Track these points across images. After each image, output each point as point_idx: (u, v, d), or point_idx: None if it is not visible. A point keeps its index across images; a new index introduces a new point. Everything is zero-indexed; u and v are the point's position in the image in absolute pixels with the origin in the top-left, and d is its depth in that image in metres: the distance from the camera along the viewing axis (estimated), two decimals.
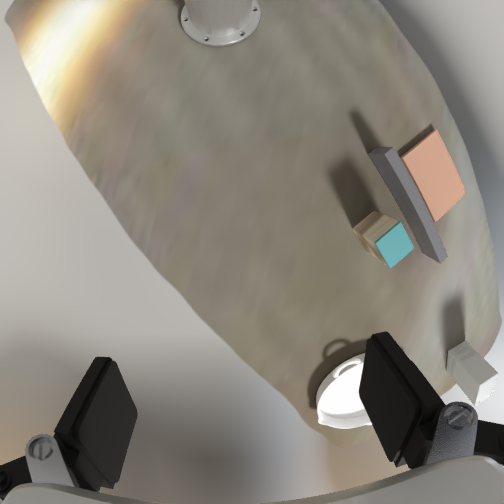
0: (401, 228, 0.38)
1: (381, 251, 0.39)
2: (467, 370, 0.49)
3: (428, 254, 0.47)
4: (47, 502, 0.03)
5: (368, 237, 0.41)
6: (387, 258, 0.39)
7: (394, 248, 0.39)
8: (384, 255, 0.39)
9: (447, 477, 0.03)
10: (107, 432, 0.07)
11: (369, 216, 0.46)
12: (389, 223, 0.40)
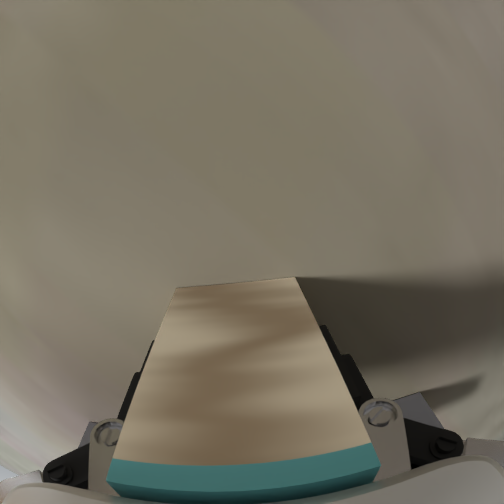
0: None
1: (287, 488, 0.04)
2: None
3: None
4: (47, 502, 0.03)
5: None
6: (200, 499, 0.04)
7: None
8: (240, 496, 0.04)
9: (447, 477, 0.03)
10: None
11: None
12: None
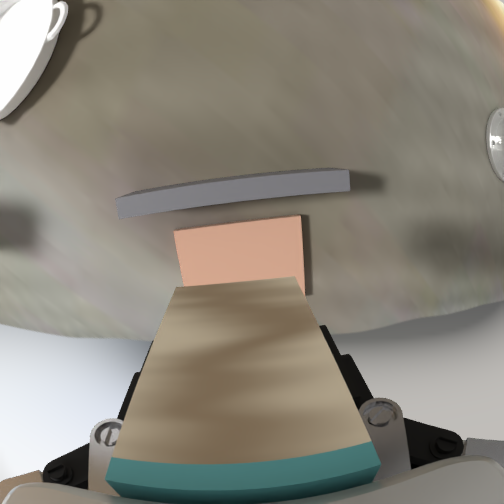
0: None
1: (287, 487, 0.04)
2: None
3: None
4: (47, 502, 0.03)
5: None
6: (199, 498, 0.04)
7: None
8: (239, 495, 0.04)
9: (447, 477, 0.03)
10: None
11: None
12: None
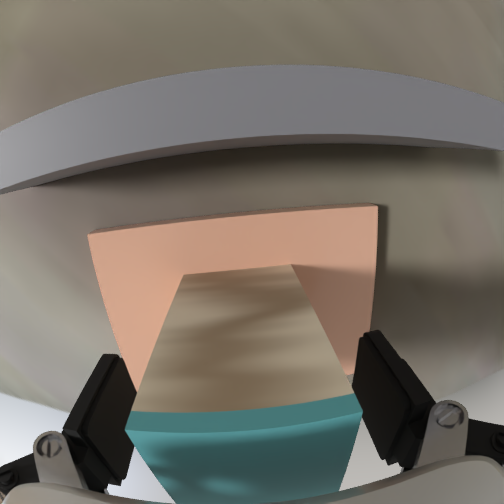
0: None
1: (282, 430, 0.05)
2: None
3: None
4: (47, 502, 0.03)
5: None
6: (207, 443, 0.05)
7: (241, 476, 0.06)
8: (242, 438, 0.05)
9: (447, 477, 0.03)
10: (115, 429, 0.07)
11: None
12: None
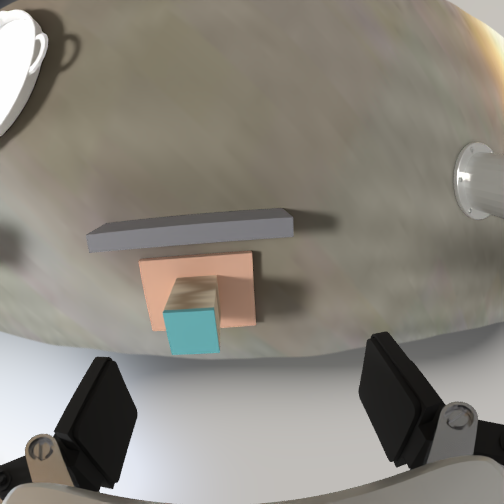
0: (210, 350, 0.29)
1: (196, 312, 0.27)
2: None
3: (103, 227, 0.31)
4: (47, 502, 0.03)
5: (215, 299, 0.30)
6: (180, 316, 0.27)
7: (188, 330, 0.28)
8: (188, 314, 0.27)
9: (447, 477, 0.03)
10: (107, 432, 0.07)
11: (219, 303, 0.36)
12: (218, 334, 0.30)
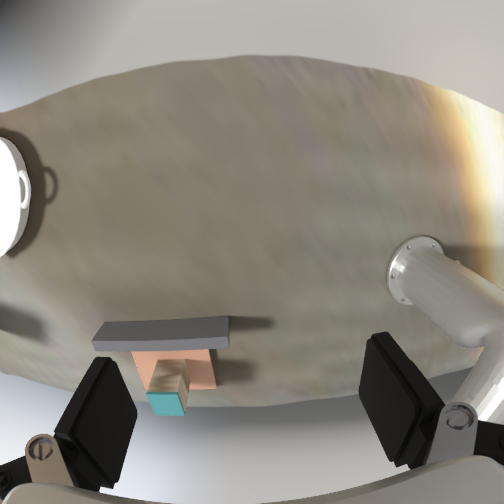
0: (178, 414, 0.40)
1: (166, 395, 0.39)
2: None
3: (102, 329, 0.43)
4: (47, 502, 0.03)
5: (180, 383, 0.41)
6: (157, 396, 0.39)
7: (163, 403, 0.39)
8: (161, 395, 0.39)
9: (447, 477, 0.03)
10: (107, 432, 0.07)
11: (188, 376, 0.48)
12: (184, 403, 0.42)
